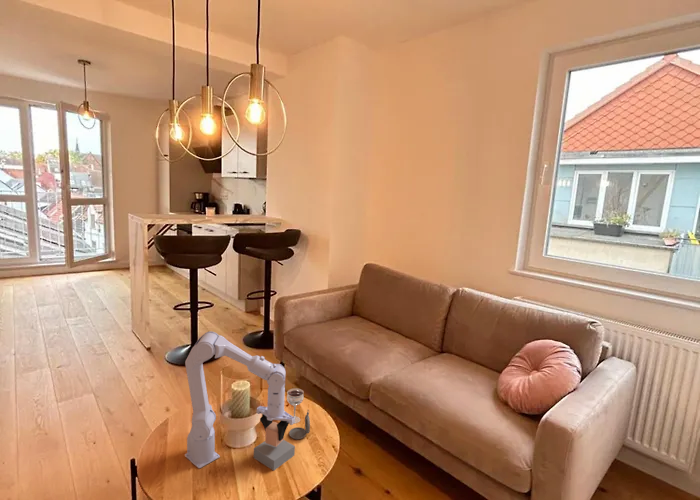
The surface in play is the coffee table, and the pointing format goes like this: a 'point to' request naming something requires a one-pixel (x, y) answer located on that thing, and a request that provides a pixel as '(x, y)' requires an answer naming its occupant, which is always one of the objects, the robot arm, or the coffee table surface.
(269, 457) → the slate slab
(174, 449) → the coffee table surface
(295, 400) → the wineglass
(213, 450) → the robot arm
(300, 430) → the pocket watch
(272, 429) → the terracotta block
